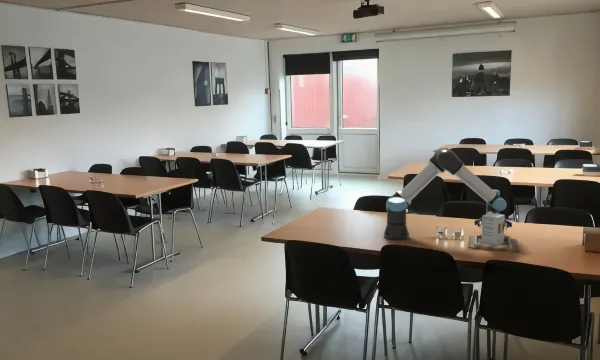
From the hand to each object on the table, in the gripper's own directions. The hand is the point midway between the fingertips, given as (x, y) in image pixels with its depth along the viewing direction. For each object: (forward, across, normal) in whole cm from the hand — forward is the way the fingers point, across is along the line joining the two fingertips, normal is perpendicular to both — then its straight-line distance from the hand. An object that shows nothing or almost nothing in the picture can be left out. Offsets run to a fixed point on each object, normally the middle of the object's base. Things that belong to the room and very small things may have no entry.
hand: (493, 227), depth 286 cm
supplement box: (-1, 0, -10) cm, 10 cm away
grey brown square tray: (-3, 0, -11) cm, 11 cm away
